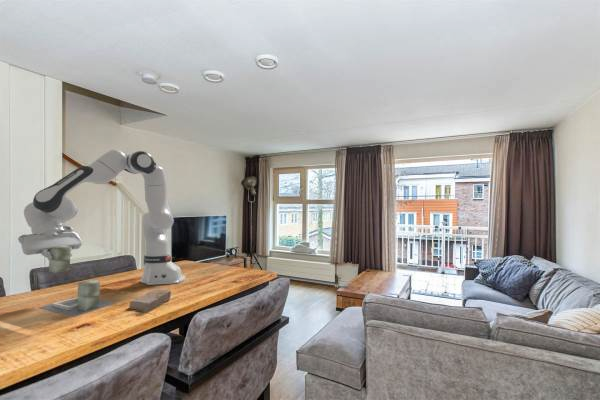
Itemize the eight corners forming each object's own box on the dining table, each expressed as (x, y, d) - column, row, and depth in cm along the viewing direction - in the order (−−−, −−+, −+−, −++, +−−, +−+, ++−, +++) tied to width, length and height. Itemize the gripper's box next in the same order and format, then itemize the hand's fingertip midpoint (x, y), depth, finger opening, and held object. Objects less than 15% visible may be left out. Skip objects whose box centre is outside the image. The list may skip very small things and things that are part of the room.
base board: (81, 298, 125) (82, 293, 125) (116, 306, 117) (116, 300, 117) (37, 310, 110) (37, 305, 110) (73, 320, 102) (73, 314, 102)
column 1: (62, 268, 122) (63, 245, 122) (69, 270, 120) (70, 246, 120) (48, 271, 117) (49, 247, 118) (56, 272, 116) (56, 248, 116)
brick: (147, 313, 110) (147, 301, 111) (127, 312, 111) (128, 300, 112) (171, 300, 127) (171, 289, 127) (154, 299, 128) (154, 288, 128)
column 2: (90, 304, 115) (91, 279, 115) (98, 306, 113) (99, 281, 113) (77, 308, 110) (78, 282, 110) (85, 310, 108) (86, 284, 108)
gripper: (19, 230, 112) (33, 257, 108) (76, 226, 131) (89, 249, 127) (13, 240, 114) (26, 267, 110) (70, 235, 133) (83, 258, 129)
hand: (60, 257), depth 119 cm, fingers closed on column 1, 5 cm apart
